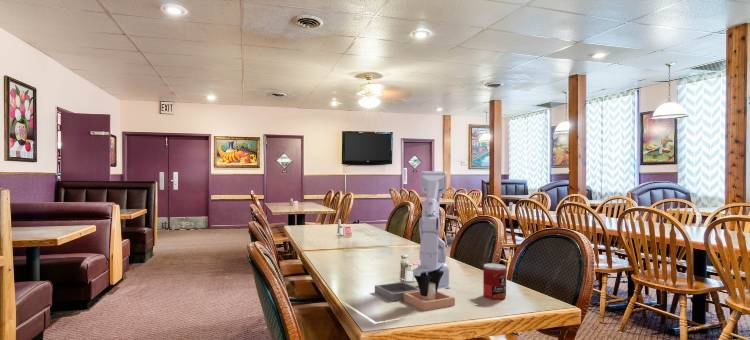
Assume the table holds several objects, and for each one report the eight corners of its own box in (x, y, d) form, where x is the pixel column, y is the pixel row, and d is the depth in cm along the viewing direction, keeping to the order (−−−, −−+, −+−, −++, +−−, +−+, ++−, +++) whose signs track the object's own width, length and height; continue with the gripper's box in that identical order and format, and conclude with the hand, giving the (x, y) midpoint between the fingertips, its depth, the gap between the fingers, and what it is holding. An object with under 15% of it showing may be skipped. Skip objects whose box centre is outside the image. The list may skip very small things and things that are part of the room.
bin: (403, 289, 156) (403, 281, 156) (422, 298, 146) (422, 289, 146) (374, 294, 150) (374, 285, 150) (392, 303, 140) (392, 294, 140)
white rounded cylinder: (425, 295, 143) (425, 280, 143) (438, 298, 139) (438, 283, 140) (417, 299, 139) (417, 283, 139) (430, 301, 136) (430, 286, 136)
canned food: (494, 301, 143) (494, 269, 143) (478, 295, 150) (478, 264, 150) (511, 298, 147) (511, 266, 147) (494, 292, 154) (494, 262, 154)
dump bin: (432, 297, 147) (432, 288, 147) (454, 307, 137) (454, 297, 137) (403, 302, 141) (403, 293, 141) (424, 312, 131) (424, 302, 131)
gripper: (431, 248, 147) (430, 287, 147) (406, 254, 136) (405, 296, 136) (448, 251, 142) (448, 291, 142) (424, 257, 132) (423, 300, 131)
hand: (428, 294), depth 139 cm, fingers closed on white rounded cylinder, 5 cm apart
